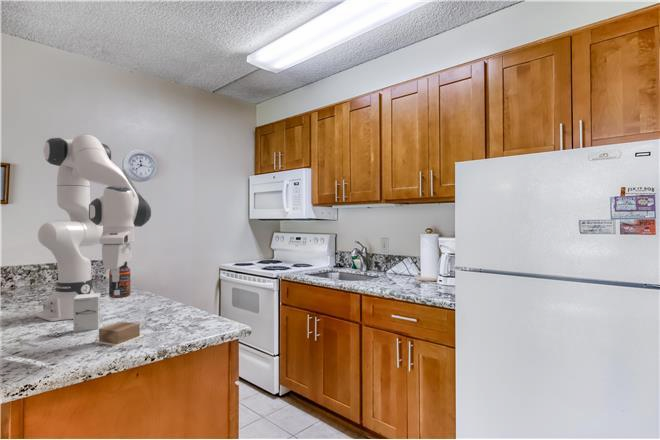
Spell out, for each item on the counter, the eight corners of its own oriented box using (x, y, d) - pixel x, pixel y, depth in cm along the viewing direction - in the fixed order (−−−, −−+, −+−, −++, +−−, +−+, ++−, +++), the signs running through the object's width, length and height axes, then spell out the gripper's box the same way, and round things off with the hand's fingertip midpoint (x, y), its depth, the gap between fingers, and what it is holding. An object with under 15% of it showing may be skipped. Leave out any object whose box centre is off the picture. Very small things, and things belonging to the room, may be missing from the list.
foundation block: (99, 341, 112) (98, 328, 112) (121, 333, 120) (121, 321, 120) (118, 344, 109) (118, 331, 109) (139, 336, 117) (139, 324, 117)
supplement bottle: (121, 299, 111) (120, 263, 111) (104, 298, 112) (104, 262, 112) (134, 294, 117) (134, 260, 117) (118, 293, 118) (118, 259, 118)
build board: (74, 344, 113) (74, 340, 113) (114, 330, 126) (114, 327, 126) (117, 351, 107) (117, 347, 107) (154, 336, 120) (154, 332, 120)
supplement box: (72, 335, 121) (72, 298, 121) (76, 329, 128) (76, 294, 127) (98, 332, 124) (98, 296, 124) (100, 326, 131) (100, 292, 131)
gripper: (116, 235, 123) (117, 275, 123) (97, 238, 104) (97, 286, 104) (137, 234, 125) (137, 274, 125) (121, 238, 106) (122, 284, 106)
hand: (119, 279), depth 114 cm, fingers closed on supplement bottle, 6 cm apart
